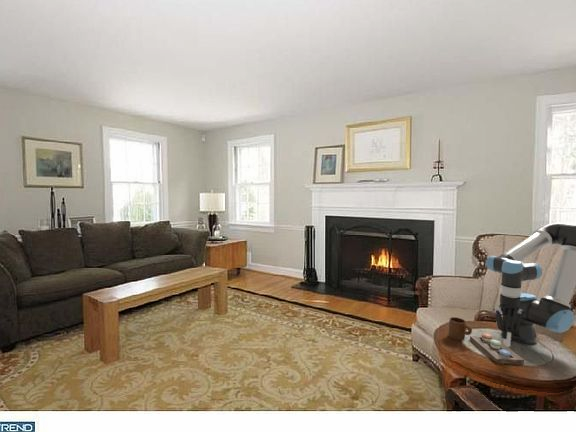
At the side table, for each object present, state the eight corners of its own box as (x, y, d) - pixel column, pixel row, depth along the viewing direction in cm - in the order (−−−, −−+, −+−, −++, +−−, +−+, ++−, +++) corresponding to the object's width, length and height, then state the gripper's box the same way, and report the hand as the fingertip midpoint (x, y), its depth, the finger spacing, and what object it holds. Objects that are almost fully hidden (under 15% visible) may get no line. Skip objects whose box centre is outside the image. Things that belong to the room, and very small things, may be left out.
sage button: (497, 345, 157) (497, 339, 156) (502, 350, 152) (503, 344, 152) (487, 345, 157) (488, 339, 156) (493, 349, 152) (493, 343, 152)
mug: (475, 343, 162) (477, 325, 161) (464, 346, 159) (466, 327, 158) (455, 333, 173) (456, 316, 172) (444, 335, 170) (446, 318, 169)
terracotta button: (488, 338, 163) (488, 333, 163) (493, 342, 159) (494, 337, 159) (479, 338, 164) (480, 332, 163) (484, 342, 159) (485, 336, 159)
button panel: (493, 340, 165) (493, 336, 165) (523, 364, 143) (524, 359, 143) (469, 339, 166) (470, 336, 165) (496, 363, 144) (496, 358, 144)
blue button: (506, 355, 150) (506, 349, 149) (512, 360, 145) (513, 354, 145) (496, 355, 150) (497, 349, 149) (502, 360, 145) (503, 354, 145)
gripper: (519, 292, 148) (515, 341, 151) (490, 292, 149) (487, 341, 151) (531, 298, 141) (526, 349, 143) (500, 297, 141) (497, 349, 144)
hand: (506, 345), depth 147 cm, fingers closed
